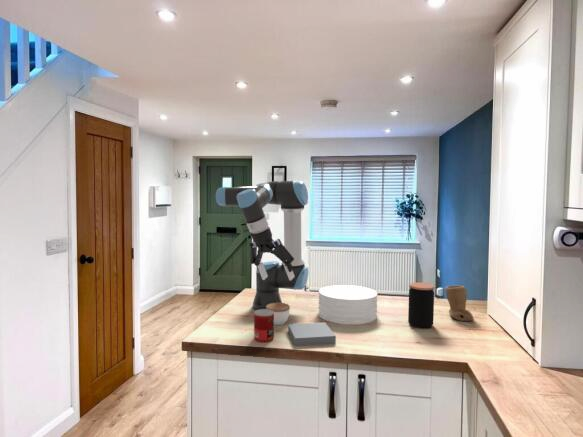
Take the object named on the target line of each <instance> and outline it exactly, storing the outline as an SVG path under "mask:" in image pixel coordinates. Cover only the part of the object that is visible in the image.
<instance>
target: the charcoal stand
mask: <svg viewBox="0 0 583 437" xmlns="http://www.w3.org/2000/svg"><path fill="white" fill-rule="evenodd" d="M287 328H288V330H287V331H288V334H289V336H290V338H291V339H292V342H293V344H294V347H298V346H299V347H300V346H303V347H304V346H317V345H319V346H320V345H333V344H334V345H335V344H336V342H337V340H336V339H337V337H336V336H337V335H336V334H335V333H334V332H333V330H332V329H331V328H330V327H329V325H327V323H326V321H324V322H303V323H289V324H288V327H287Z"/></svg>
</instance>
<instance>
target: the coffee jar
mask: <svg viewBox="0 0 583 437" xmlns="http://www.w3.org/2000/svg"><path fill="white" fill-rule="evenodd" d="M408 286H409V289H408V310H407V311H408V313H407V314H408V316H407V318H408V320H407V322H408V324H409V325H410V326H411V327H413V328H417V329H431V328H432V327H433V325H434V315H435V314H434V313H435V312H434V311H435V310H434V309H435V291H434V290H435V285H433V284H430V283H426V282H410V283H409V285H408Z"/></svg>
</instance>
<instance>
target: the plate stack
mask: <svg viewBox="0 0 583 437" xmlns="http://www.w3.org/2000/svg"><path fill="white" fill-rule="evenodd" d="M318 316H319V317H320V318H321V319H322V320H325V321H327V322H330V323H336V324H341V325H362V324H363V325H364V324H365V325H366V324H369V323H372V322H375V321H376V320H377V318H378V292H377V290H374V289H372V288H369V287H365V286H362V285H361V286H360V285H353V284H350V285H349V284H336V285H328V286H324V287H323V286H322V287H321V288H320V289H319V290H318Z"/></svg>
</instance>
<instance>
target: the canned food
mask: <svg viewBox="0 0 583 437" xmlns="http://www.w3.org/2000/svg"><path fill="white" fill-rule="evenodd" d="M253 313H254V314H253V337H254V340H255V341H256V342H259V343H269V342H272V341H273V340H274V338H275V331H274V330H275V325H274V311H272V310H269V309H259V310H256V309H255V310H254V312H253Z"/></svg>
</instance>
